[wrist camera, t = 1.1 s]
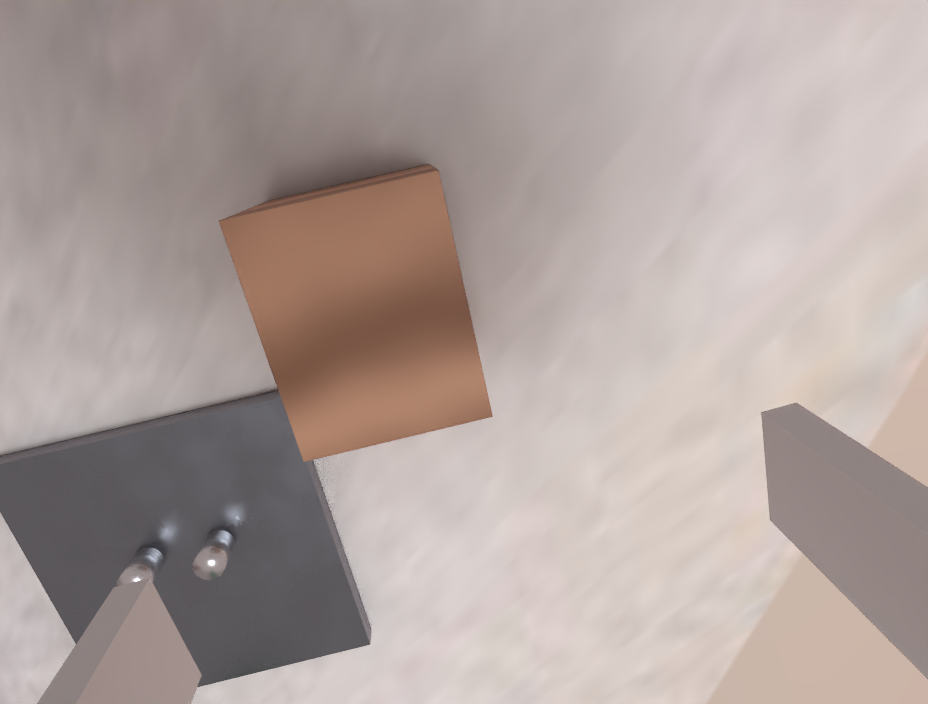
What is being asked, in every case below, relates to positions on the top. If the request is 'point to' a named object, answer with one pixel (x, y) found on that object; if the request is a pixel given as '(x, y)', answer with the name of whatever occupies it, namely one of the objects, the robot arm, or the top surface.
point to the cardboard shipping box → (361, 310)
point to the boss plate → (193, 534)
